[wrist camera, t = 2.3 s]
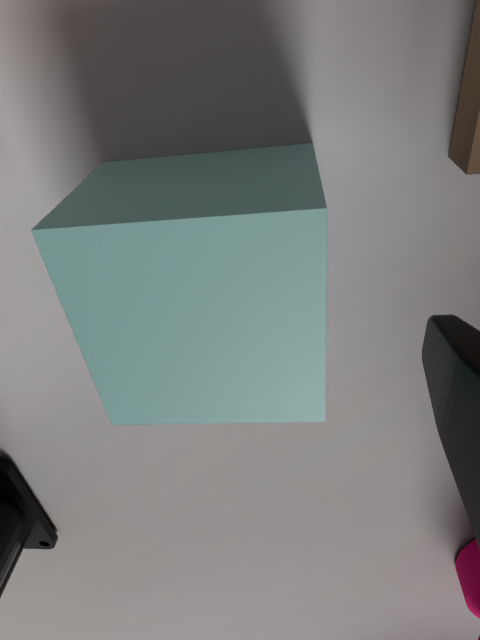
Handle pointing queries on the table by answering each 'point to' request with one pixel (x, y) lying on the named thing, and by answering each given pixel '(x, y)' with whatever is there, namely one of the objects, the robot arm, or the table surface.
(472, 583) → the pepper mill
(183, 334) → the teal brick
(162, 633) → the table surface
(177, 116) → the table surface
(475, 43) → the walnut board
